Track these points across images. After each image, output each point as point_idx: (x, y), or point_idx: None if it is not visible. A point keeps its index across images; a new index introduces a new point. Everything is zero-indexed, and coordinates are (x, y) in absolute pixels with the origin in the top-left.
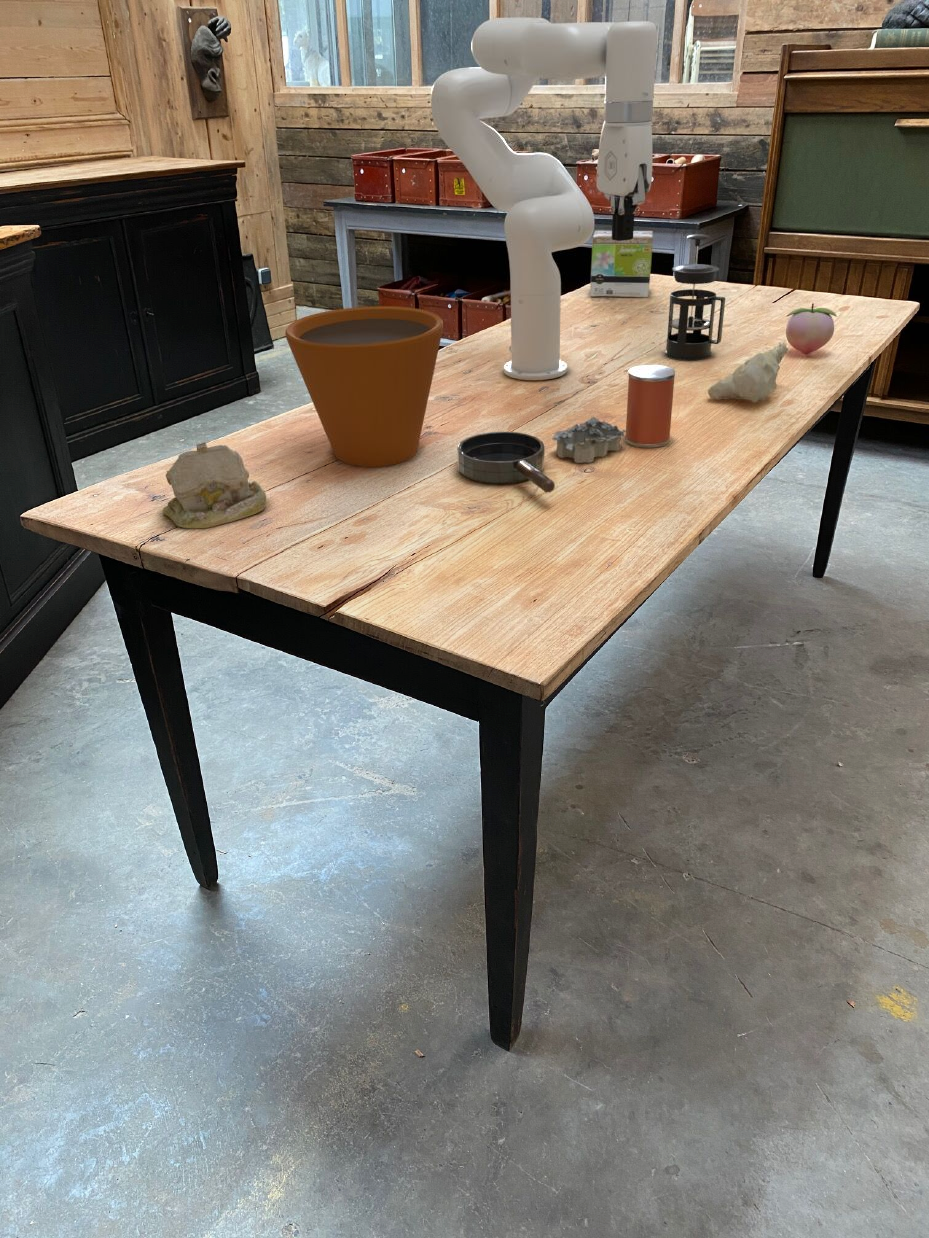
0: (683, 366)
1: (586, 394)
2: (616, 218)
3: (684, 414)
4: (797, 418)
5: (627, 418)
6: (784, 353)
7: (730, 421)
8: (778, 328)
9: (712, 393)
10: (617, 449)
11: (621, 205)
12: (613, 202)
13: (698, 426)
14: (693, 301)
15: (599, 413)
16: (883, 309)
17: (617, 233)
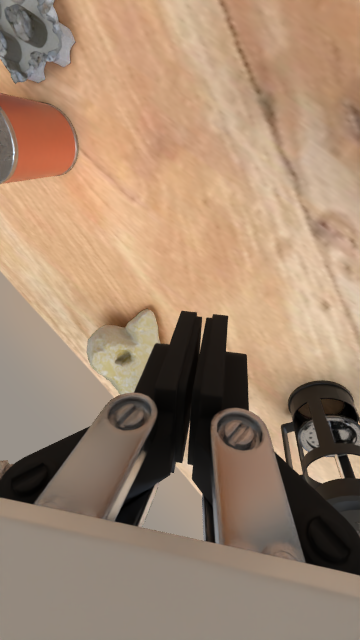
0: (284, 370)
1: (274, 183)
2: (170, 374)
3: (122, 252)
4: (67, 336)
5: (27, 99)
6: None
7: (80, 279)
8: None
9: (143, 311)
10: (18, 64)
11: (101, 447)
12: (233, 482)
13: (77, 238)
14: (315, 455)
15: (180, 145)
16: None
17: (176, 328)
